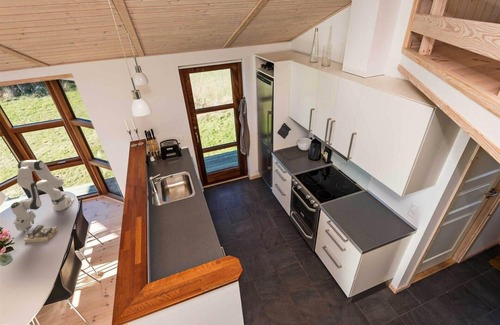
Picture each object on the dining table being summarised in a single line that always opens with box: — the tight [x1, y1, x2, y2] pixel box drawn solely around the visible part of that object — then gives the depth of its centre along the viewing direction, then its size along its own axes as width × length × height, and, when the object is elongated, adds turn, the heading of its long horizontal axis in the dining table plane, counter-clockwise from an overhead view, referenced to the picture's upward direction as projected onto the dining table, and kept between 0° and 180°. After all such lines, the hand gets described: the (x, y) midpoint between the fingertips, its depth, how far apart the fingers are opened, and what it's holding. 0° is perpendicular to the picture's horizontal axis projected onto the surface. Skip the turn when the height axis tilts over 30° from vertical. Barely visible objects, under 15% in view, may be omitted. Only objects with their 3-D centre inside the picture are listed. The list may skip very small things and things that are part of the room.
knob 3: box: [41, 228, 52, 236], centre depth 250 cm, size 8×5×7 cm, turn 3°
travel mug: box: [25, 222, 33, 229], centre depth 258 cm, size 6×7×20 cm
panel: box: [23, 226, 58, 243], centre depth 250 cm, size 16×22×4 cm
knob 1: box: [26, 227, 35, 236], centre depth 249 cm, size 8×5×7 cm, turn 3°
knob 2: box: [33, 224, 44, 234], centre depth 248 cm, size 8×5×7 cm, turn 3°
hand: (29, 226), depth 246 cm, fingers open, 8 cm apart
